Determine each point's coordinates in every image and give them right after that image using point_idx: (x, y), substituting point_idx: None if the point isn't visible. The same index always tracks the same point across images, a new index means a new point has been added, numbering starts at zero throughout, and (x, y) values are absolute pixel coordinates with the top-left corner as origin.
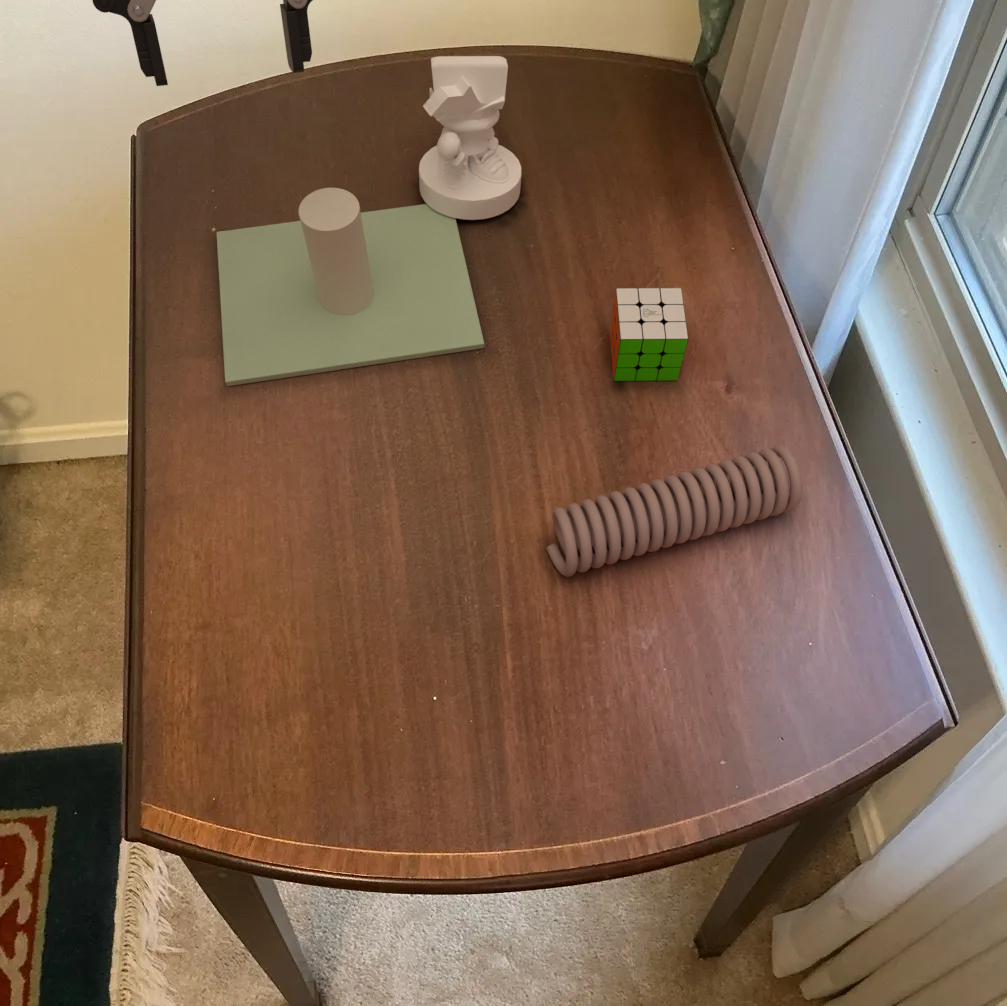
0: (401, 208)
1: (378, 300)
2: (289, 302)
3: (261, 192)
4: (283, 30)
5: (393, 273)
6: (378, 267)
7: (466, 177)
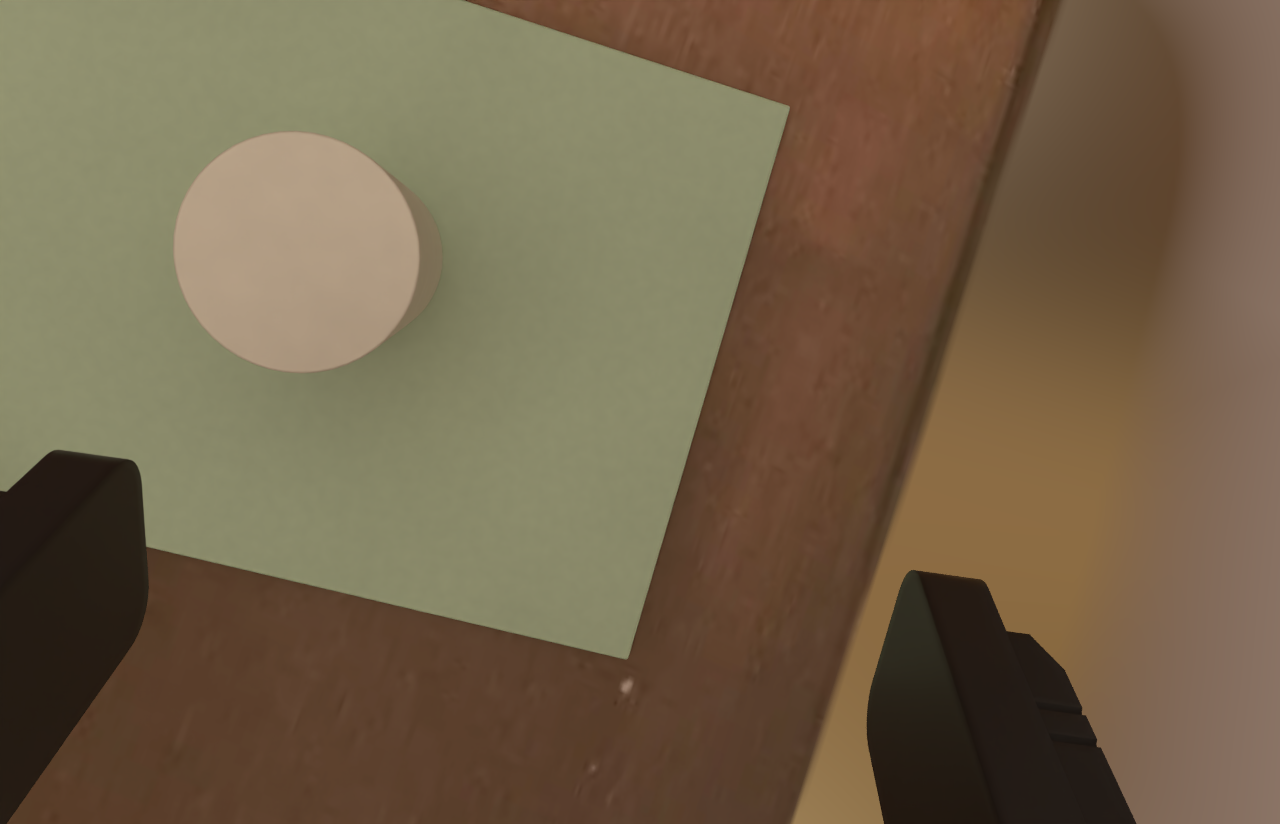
0: None
1: None
2: (526, 301)
3: (449, 775)
4: (49, 757)
5: None
6: None
7: None
